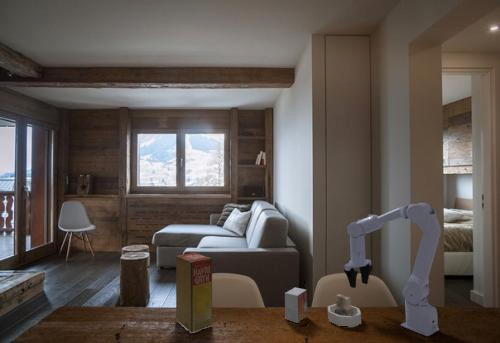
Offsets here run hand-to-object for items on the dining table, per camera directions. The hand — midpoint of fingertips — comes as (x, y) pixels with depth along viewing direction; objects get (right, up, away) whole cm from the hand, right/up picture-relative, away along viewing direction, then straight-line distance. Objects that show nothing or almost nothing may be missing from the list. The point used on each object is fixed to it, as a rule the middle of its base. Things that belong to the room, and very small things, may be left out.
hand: (358, 285), depth 122 cm
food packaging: (-65, -11, -10) cm, 67 cm away
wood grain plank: (-9, -9, -9) cm, 15 cm away
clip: (-9, -10, -9) cm, 16 cm away
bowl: (-9, -10, -9) cm, 16 cm away
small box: (-26, -10, -7) cm, 29 cm away
